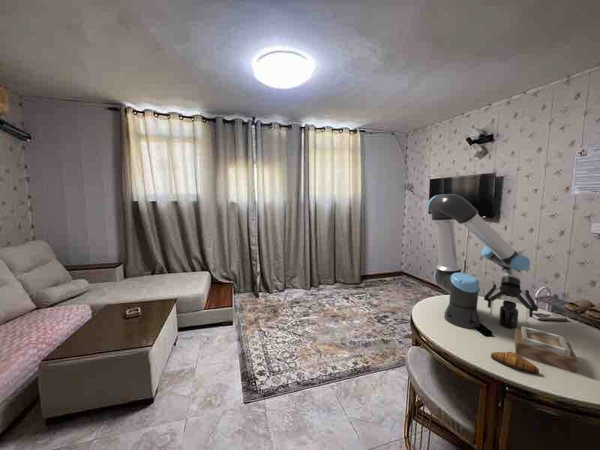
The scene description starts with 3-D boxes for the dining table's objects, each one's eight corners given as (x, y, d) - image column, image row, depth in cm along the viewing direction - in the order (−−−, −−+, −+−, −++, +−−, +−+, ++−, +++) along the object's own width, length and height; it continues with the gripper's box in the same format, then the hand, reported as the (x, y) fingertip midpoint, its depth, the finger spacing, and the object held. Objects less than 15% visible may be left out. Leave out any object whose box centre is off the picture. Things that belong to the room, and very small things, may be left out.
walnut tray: (515, 354, 96) (517, 337, 95) (514, 338, 106) (515, 323, 106) (575, 372, 86) (578, 354, 85) (567, 353, 96) (569, 337, 96)
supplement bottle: (515, 324, 119) (517, 301, 118) (518, 331, 113) (521, 306, 112) (497, 321, 122) (499, 298, 121) (499, 326, 117) (502, 303, 115)
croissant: (538, 369, 88) (539, 356, 87) (539, 379, 83) (541, 366, 82) (491, 353, 96) (492, 341, 96) (489, 361, 91) (490, 349, 91)
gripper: (542, 289, 120) (543, 330, 110) (481, 278, 136) (476, 313, 126) (545, 281, 115) (546, 323, 105) (481, 271, 131) (476, 307, 121)
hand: (508, 318), depth 115 cm, fingers open, 13 cm apart
